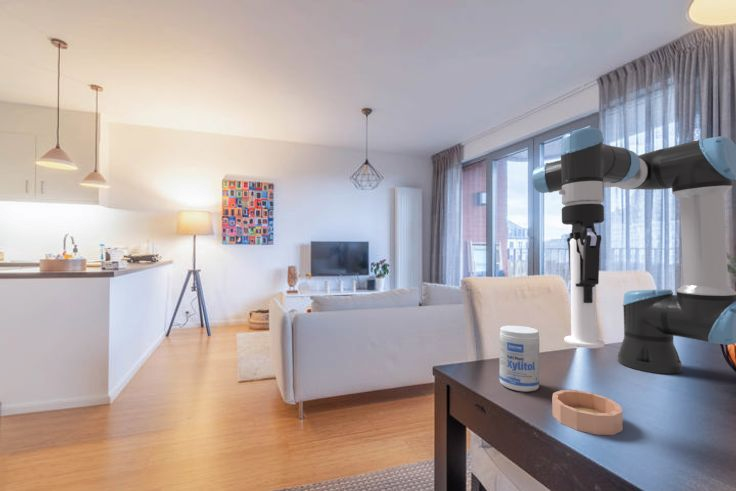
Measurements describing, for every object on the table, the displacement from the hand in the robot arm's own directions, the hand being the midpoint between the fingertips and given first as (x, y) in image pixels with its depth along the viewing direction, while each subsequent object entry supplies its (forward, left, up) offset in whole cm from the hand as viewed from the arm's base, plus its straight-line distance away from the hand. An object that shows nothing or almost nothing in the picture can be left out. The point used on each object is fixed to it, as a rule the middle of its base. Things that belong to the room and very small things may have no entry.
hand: (583, 317), depth 71 cm
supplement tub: (+6, -18, -21) cm, 29 cm away
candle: (0, 0, -6) cm, 6 cm away
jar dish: (0, 0, -21) cm, 21 cm away
